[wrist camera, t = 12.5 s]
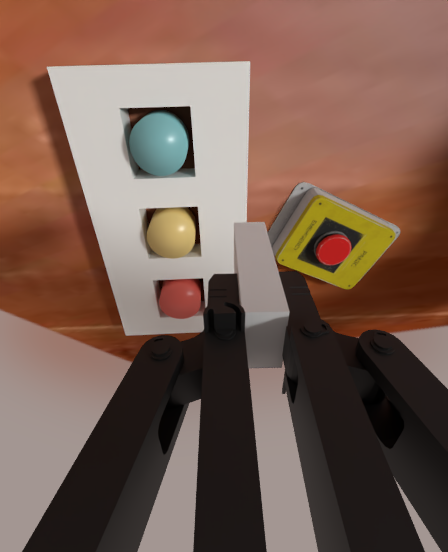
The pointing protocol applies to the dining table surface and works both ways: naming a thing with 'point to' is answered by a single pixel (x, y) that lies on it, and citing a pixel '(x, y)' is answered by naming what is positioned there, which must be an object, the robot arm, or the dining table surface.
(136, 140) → the teal button
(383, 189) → the dining table surface
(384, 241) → the emergency button
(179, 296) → the red button
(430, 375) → the robot arm
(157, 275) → the button panel
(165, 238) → the ochre button
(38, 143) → the dining table surface
